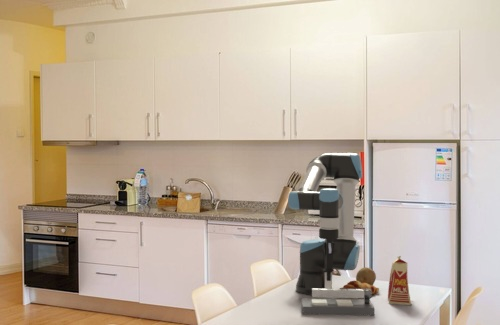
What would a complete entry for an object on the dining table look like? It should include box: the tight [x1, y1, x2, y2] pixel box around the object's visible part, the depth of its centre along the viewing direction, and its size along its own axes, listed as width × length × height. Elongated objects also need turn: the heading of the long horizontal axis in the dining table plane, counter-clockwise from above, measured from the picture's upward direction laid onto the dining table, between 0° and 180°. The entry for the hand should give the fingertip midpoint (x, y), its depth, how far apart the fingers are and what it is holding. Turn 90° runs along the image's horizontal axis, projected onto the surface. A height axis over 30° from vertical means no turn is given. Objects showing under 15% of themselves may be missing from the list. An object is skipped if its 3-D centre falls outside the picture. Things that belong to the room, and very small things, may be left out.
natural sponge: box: [355, 267, 377, 286], centre depth 261 cm, size 9×9×10 cm
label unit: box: [301, 297, 376, 316], centre depth 226 cm, size 12×28×5 cm, turn 87°
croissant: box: [338, 280, 380, 295], centre depth 250 cm, size 21×10×8 cm, turn 109°
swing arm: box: [311, 288, 373, 299], centre depth 226 cm, size 4×24×3 cm, turn 87°
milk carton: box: [387, 255, 412, 306], centre depth 240 cm, size 9×9×20 cm
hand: (328, 288), depth 220 cm, fingers closed
